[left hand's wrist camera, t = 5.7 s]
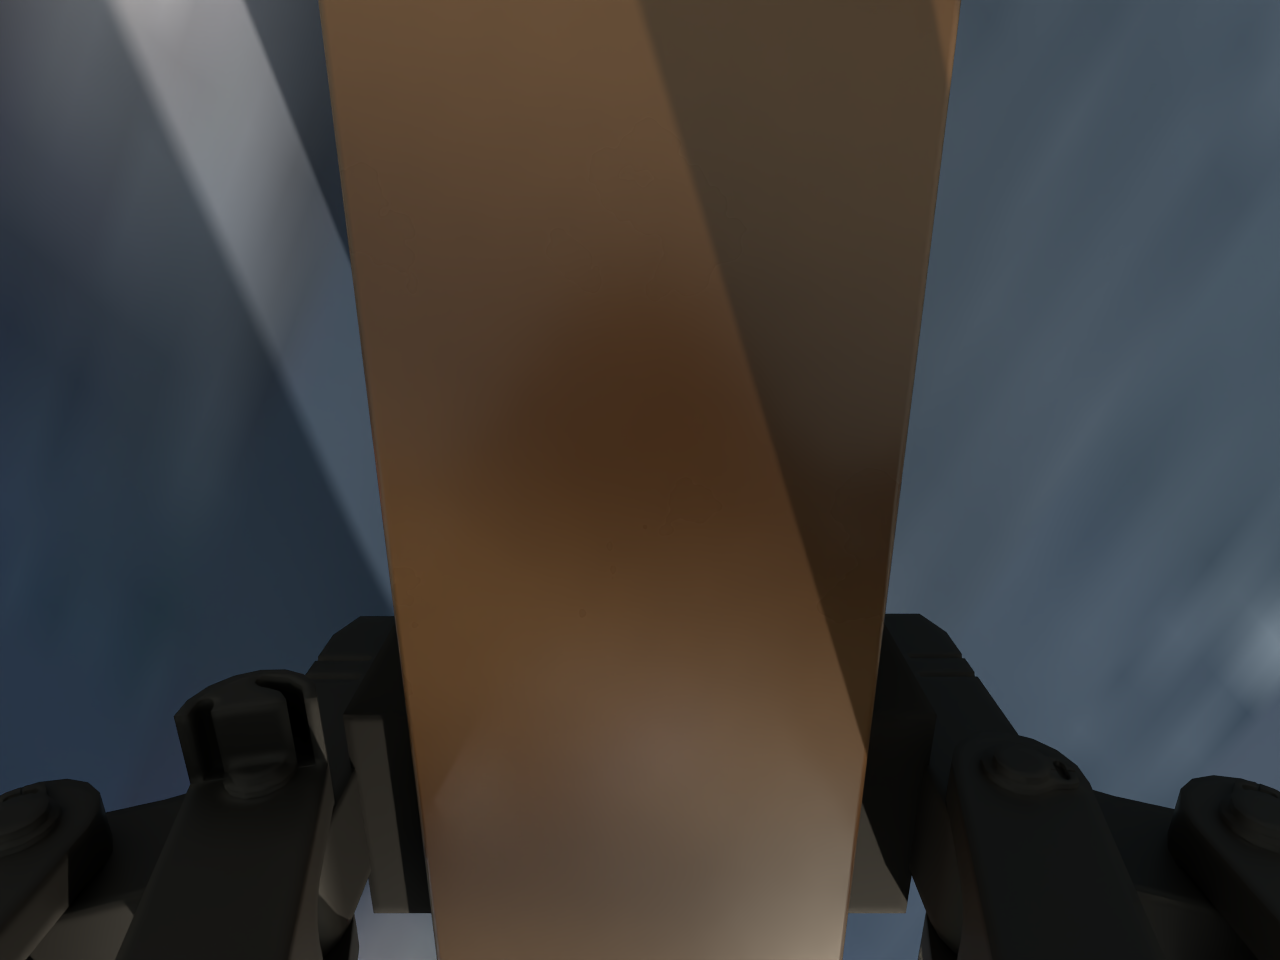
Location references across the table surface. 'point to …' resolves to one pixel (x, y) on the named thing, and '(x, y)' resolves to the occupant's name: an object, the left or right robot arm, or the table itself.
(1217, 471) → the table surface
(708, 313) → the bar
